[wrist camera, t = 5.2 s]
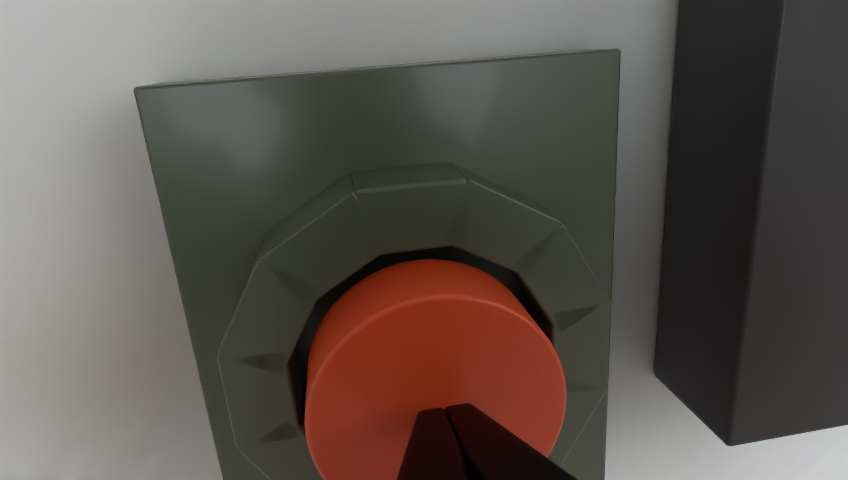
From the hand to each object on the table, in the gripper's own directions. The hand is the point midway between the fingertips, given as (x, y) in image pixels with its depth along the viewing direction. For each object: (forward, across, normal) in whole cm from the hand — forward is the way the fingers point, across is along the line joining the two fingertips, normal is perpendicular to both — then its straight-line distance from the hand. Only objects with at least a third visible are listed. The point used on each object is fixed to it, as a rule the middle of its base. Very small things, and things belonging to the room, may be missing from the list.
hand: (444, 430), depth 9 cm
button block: (+5, 0, 0) cm, 5 cm away
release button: (+2, 0, 0) cm, 2 cm away
